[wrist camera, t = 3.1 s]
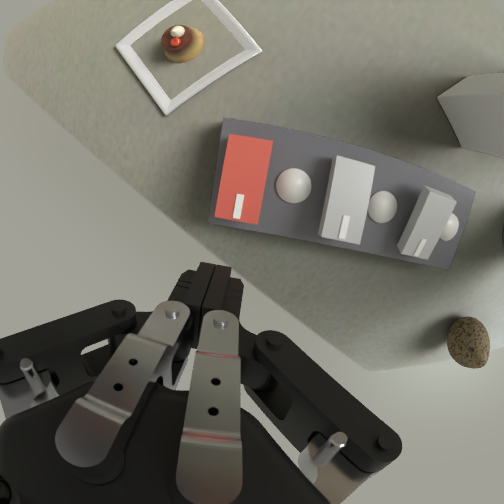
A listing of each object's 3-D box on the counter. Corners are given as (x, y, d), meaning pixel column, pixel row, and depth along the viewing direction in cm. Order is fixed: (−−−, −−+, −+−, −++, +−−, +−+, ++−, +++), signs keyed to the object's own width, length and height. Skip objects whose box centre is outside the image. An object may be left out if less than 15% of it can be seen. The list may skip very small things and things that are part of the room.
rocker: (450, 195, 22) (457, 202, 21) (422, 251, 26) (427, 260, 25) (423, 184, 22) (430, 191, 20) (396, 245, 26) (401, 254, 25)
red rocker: (272, 143, 23) (273, 140, 21) (257, 222, 24) (257, 224, 23) (231, 136, 23) (229, 133, 21) (216, 215, 24) (214, 217, 23)
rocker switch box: (457, 183, 27) (476, 192, 23) (433, 255, 31) (448, 271, 27) (229, 119, 26) (223, 117, 22) (215, 211, 30) (207, 223, 26)
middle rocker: (369, 167, 23) (375, 166, 21) (354, 241, 24) (360, 244, 23) (332, 157, 23) (337, 155, 21) (317, 234, 24) (321, 237, 23)
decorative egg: (443, 313, 35) (472, 356, 25) (475, 302, 33) (507, 339, 24) (436, 346, 37) (459, 388, 28) (467, 334, 36) (492, 371, 27)
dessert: (169, 116, 27) (152, 115, 22) (118, 47, 23) (97, 38, 18) (263, 53, 23) (262, 40, 19) (202, -14, 19) (192, -32, 15)
